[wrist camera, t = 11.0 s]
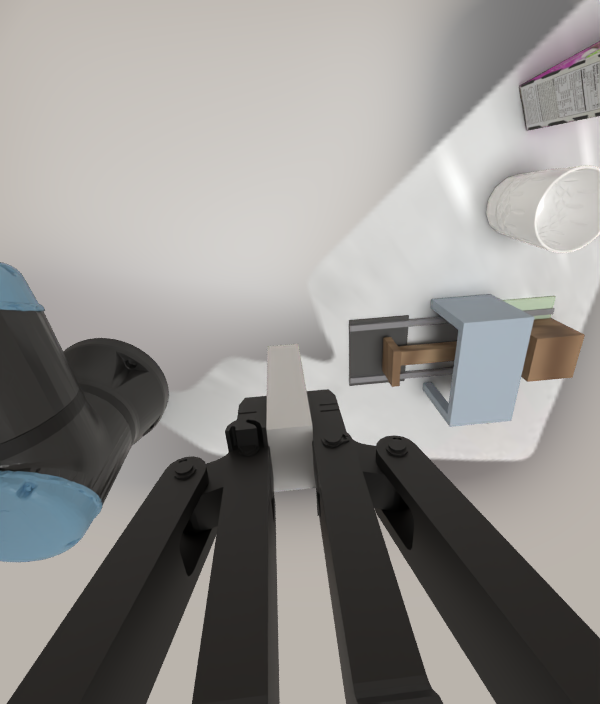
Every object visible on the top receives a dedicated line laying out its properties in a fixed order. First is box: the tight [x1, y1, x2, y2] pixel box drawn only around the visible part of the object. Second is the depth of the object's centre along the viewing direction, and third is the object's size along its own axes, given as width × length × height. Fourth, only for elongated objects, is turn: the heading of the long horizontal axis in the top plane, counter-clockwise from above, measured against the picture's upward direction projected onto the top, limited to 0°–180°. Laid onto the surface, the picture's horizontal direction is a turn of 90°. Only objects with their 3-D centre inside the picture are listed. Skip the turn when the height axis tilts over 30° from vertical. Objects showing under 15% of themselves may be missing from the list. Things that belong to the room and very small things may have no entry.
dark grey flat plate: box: [349, 315, 409, 386], centre depth 51 cm, size 8×10×1 cm
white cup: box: [486, 166, 600, 253], centre depth 40 cm, size 8×8×10 cm
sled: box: [382, 318, 584, 387], centre depth 49 cm, size 24×6×6 cm, turn 94°
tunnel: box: [350, 294, 554, 427], centre depth 48 cm, size 28×14×9 cm, turn 94°
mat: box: [503, 296, 555, 320], centre depth 52 cm, size 8×12×1 cm, turn 4°
